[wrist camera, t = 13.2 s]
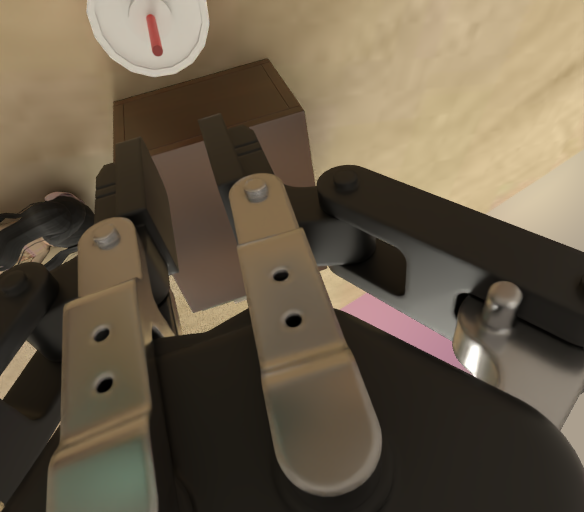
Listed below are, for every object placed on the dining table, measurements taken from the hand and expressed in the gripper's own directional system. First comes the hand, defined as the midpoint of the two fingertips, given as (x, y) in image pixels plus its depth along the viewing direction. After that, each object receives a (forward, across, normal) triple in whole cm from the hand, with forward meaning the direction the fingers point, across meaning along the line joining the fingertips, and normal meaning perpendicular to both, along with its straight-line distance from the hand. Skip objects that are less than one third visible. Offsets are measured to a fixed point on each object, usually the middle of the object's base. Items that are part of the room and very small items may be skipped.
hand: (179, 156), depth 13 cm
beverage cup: (+23, 0, 0) cm, 23 cm away
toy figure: (+23, +18, +16) cm, 33 cm away
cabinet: (+23, -1, +15) cm, 28 cm away
